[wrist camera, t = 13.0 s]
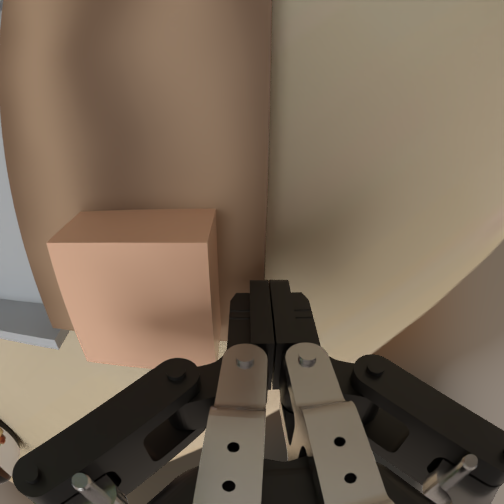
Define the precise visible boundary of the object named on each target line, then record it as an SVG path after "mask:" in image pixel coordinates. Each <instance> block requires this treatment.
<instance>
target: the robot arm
mask: <svg viewBox="0 0 504 504" xmlns="http://www.w3.org/2000/svg"><path fill="white" fill-rule="evenodd" d="M271 382H272V386H273V389H280V405H279V408H280V414H281V419H282V424H283V429H284V435H285V441H286V446H287V454H288V458H287V459H288V460H287V462H280V461H274V460H269V459H264V440H265V419H266V403H267V392H268V390H271ZM205 429H206V432H205V437H204V443H203V448H202V454H201V459H200V465H199V466H197V467H195V468H192V469H190V470H188V471H186V472H184V473H183V474H181V475H180V476H178V477H177V478H175V479H174V480H173V481H172V482H171V483H170V484H169V485H167V486H166V487H165V488H164V489H163V490H162V491H161V492H160V493H159V494H157V495H156V496H155V497H154V498H153V499H152V500H151V501H149V502H148V503H147V504H491V502H492V501H493V499H494V497H495V494H496V492H497V491H498V489H499V487H500V486H501V485H502V484H503V483H504V431H503V430H502V429H500V428H498V427H497V426H495V425H493V424H492V423H490V422H488V421H487V420H485V419H483V418H482V417H480V416H478V415H477V414H475V413H473V412H472V411H470V410H468V409H467V408H465V407H464V406H462V405H460V404H458V403H457V402H455V401H454V400H452V399H450V398H449V397H447V396H446V395H444V394H442V393H441V392H439V391H437V390H436V389H434V388H433V387H431V386H429V385H428V384H426V383H424V382H423V381H421V380H419V379H418V378H416V377H415V376H413V375H412V374H410V373H408V372H407V371H405V370H404V369H402V368H400V367H399V366H397V365H396V364H394V363H392V362H391V361H389V360H388V359H386V358H384V357H382V356H379V355H365V356H362V357H360V358H359V359H358V360H357V361H356V362H355V364H354V363H348V362H343V361H338V360H335V359H333V358H331V357H329V356H328V353H327V352H326V351H325V350H324V349H323V348H322V347H321V346H320V342H319V338H318V334H317V330H316V326H315V322H314V319H313V314H312V311H311V307H310V303H309V300H308V299H307V298H306V297H305V296H304V295H303V294H302V292H299V293H291V291H290V286H289V281H288V280H269V283H268V280H250V293H236V294H235V295H234V296H233V298H232V299H231V300H230V312H229V326H228V341H227V350H226V352H225V353H224V355H223V356H222V357H221V358H220V359H219V360H217V361H216V362H213V363H211V364H207V365H203V366H198V367H197V366H196V364H195V363H193V362H192V361H190V360H188V359H184V358H172V359H168V360H166V361H164V362H162V363H161V364H159V365H158V366H156V367H155V368H154V369H152V370H151V371H149V372H148V373H146V374H145V375H144V376H142V377H141V378H139V379H138V380H137V381H135V382H134V383H132V384H131V385H129V386H128V387H127V388H125V389H124V390H122V391H121V392H119V393H118V394H116V395H115V396H114V397H112V398H111V399H109V400H108V401H106V402H105V403H103V404H102V405H100V406H99V407H97V408H96V409H95V410H93V411H92V412H90V413H89V414H87V415H86V416H84V417H83V418H81V419H80V420H78V421H77V422H75V423H74V424H72V425H71V426H69V427H68V428H66V429H65V430H63V431H62V432H60V433H59V434H57V435H56V436H54V437H52V438H51V439H49V440H48V441H46V442H45V443H43V444H42V445H40V446H39V447H37V448H35V449H34V450H32V451H31V452H29V453H28V454H26V455H24V456H23V457H21V458H20V459H19V460H18V461H17V462H16V464H15V466H14V468H13V473H12V478H13V482H14V484H15V486H16V488H17V489H18V490H19V491H20V492H21V493H22V494H23V495H25V496H26V497H28V498H29V499H31V500H32V501H33V502H34V503H35V504H128V501H127V498H126V495H127V494H129V493H130V492H131V491H133V490H134V489H135V488H136V487H137V486H139V485H140V484H142V483H143V482H144V481H145V480H147V479H148V478H149V477H151V476H152V475H153V474H154V473H155V472H157V471H158V470H159V469H160V468H162V467H163V466H164V465H165V464H166V463H168V462H169V461H170V460H171V459H172V458H174V457H175V456H176V455H177V454H178V453H180V452H181V451H182V450H183V449H184V448H185V447H187V446H188V445H189V444H190V443H191V442H192V441H193V440H195V439H196V438H197V437H198V436H199V435H200V434H201V433H202V432H203V431H204V430H205ZM372 451H374V452H375V453H376V454H378V455H379V456H381V457H382V458H384V459H385V460H386V461H388V462H389V463H391V464H392V465H393V466H395V467H396V468H398V469H399V470H401V471H402V472H404V473H405V474H407V475H408V476H410V477H411V478H412V479H414V480H415V481H417V482H419V483H420V484H421V485H422V492H423V494H422V493H420V492H419V491H418V490H417V489H415V488H414V487H412V486H411V485H410V484H408V483H407V482H406V481H404V480H403V479H402V478H400V477H399V476H398V475H396V474H395V473H393V472H392V471H391V470H389V469H388V468H387V467H385V466H384V465H382V464H380V463H378V462H376V461H375V458H374V456H373V453H372Z"/></svg>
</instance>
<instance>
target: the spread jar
mask: <svg viewBox="0 0 504 504" xmlns="http://www.w3.org/2000/svg"><path fill="white" fill-rule="evenodd" d="M19 455H20V446H19V442H18V440H17V438H16V436H15V434H14V432H13V431H12V430H11V429H10V428H9V427H8V426H7V425H6V424H5V423H3V422H2V421H1V420H0V484H3V483H5V482H7V481H9V479H10V478H11V477H12V473H13V468H14V466H15V464H16V462H17V461H18V459H19Z"/></svg>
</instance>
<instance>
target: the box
mask: <svg viewBox="0 0 504 504" xmlns="http://www.w3.org/2000/svg"><path fill="white" fill-rule="evenodd" d="M2 6H3V0H0V26H1V15H2ZM69 331H70V330H64V329H57V328H53V327H52V325H51V322H50V320H49V317H48V315H47V312H46V310H45V307H44V305H43V302H42V299H41V297H40V294H39V291H38V288H37V285H36V282H35V280H34V277H33V274H32V270H31V267H30V264H29V261H28V258H27V254H26V251H25V248H24V244H23V240H22V237H21V233H20V229H19V225H18V221H17V217H16V213H15V209H14V204H13V199H12V195H11V190H10V184H9V179H8V173H7V167H6V161H5V154H4V146H3V138H2V128H1V117H0V338H1V339H6V340H10V341H15V342H20V343H25V344H30V345H36V346H41V347H47V348H53V349H59V348H60V347H61V345H62V343H63V341H64V340H65V338H66V336H67V334H68V333H69Z"/></svg>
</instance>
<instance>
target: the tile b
mask: <svg viewBox="0 0 504 504" xmlns="http://www.w3.org/2000/svg"><path fill="white" fill-rule="evenodd" d="M46 244H47V248H48V251H49V255H50V259H51V262H52V265H53V269H54V272H55V275H56V279H57V282H58V285H59V288H60V291H61V294H62V297H63V300H64V303H65V306H66V309H67V311H68V314H69V317H70V320H71V322H72V325H73V327H74V330H75V333H76V335H77V338H78V340H79V343H80V345H81V347H82V350H83V352H84V354H85V357H86V359H87V361H89V362H96V363H103V364H111V365H120V366H129V367H139V368H150V369H154V368H155V367H156V366H158V365H159V364H161V363H162V362H164V361H166V360H168V359H172V358H184V359H188V360H190V361H192V362H193V363H195V364H196V366H197V367H198V366H203V365H207V364H211V363H213V362H216V361H217V360H218V353H219V342H220V331H221V317H220V298H219V278H218V255H217V228H216V209H143V210H109V211H84V212H79V213H78V214H77V215H76V216H75V217H74V218H73V219H72V220H70V221H69V222H68V223H67V224H66V225H65V226H64V227H63V228H62V229H61V230H59V231H58V232H57V233H56V234H55V235H54V236H53V237H52V238H51V239H50V240H49V241H48V242H47V243H46Z"/></svg>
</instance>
